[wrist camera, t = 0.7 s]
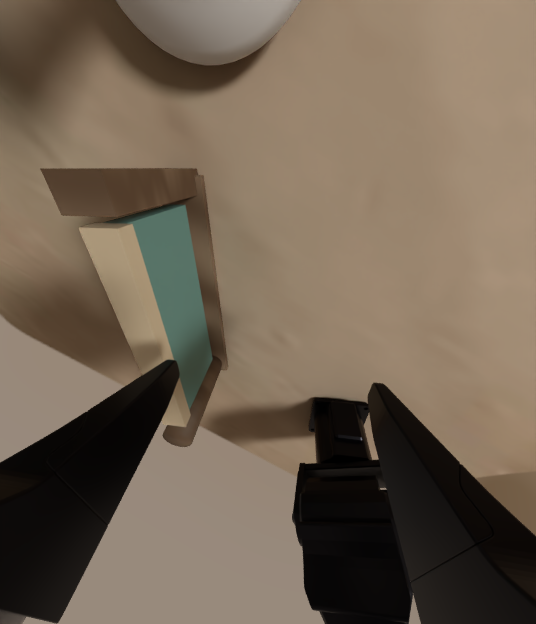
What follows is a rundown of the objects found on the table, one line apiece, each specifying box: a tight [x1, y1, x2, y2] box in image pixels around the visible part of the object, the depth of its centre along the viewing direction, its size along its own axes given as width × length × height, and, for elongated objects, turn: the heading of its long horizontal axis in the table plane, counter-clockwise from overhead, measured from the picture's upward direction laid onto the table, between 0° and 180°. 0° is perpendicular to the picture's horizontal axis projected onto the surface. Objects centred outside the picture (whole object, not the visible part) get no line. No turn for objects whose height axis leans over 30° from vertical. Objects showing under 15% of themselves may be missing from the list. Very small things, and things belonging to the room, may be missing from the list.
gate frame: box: [41, 168, 228, 447], centre depth 17 cm, size 19×3×9 cm, turn 0°
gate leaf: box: [78, 204, 213, 427], centre depth 16 cm, size 15×2×7 cm, turn 0°
